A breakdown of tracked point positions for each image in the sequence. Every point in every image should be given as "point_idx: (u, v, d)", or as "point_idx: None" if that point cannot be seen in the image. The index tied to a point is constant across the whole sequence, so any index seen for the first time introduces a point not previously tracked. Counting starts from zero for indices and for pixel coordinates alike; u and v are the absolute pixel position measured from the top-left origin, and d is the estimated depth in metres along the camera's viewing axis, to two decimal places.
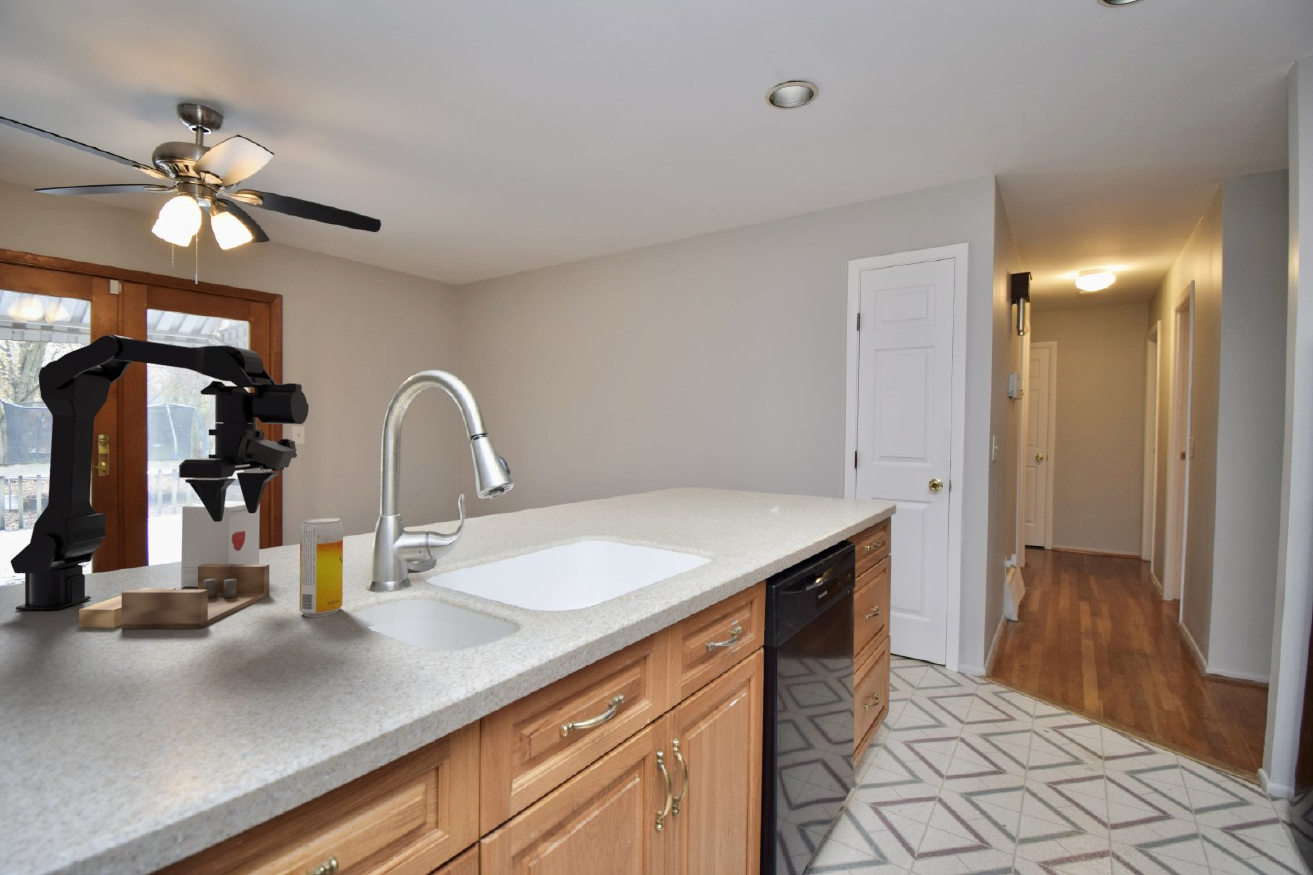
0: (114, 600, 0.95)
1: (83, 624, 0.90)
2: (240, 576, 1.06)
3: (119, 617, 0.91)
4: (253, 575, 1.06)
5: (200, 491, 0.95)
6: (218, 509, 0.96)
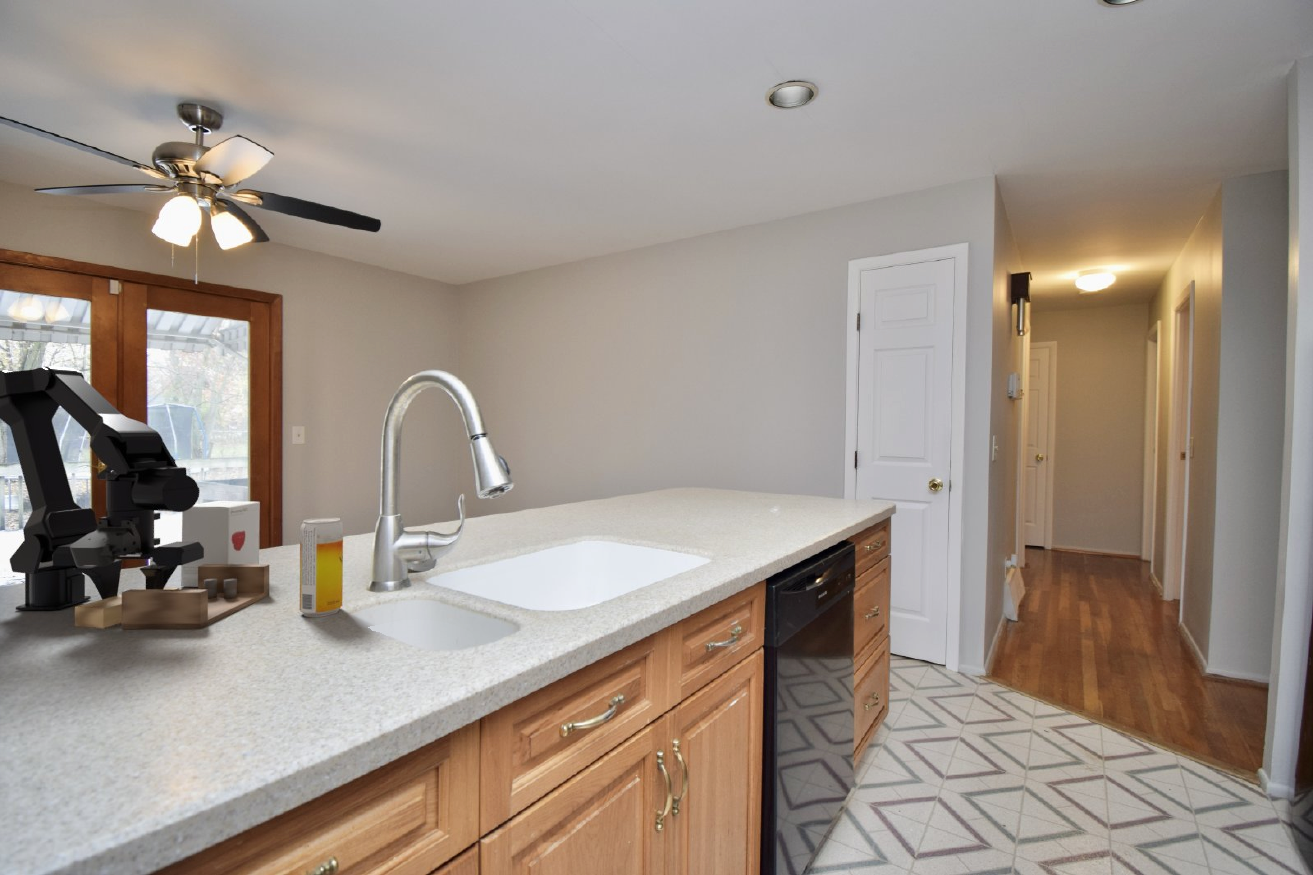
0: (114, 598, 0.95)
1: (78, 622, 0.90)
2: (240, 576, 1.06)
3: (110, 617, 0.91)
4: (253, 575, 1.06)
5: None
6: None
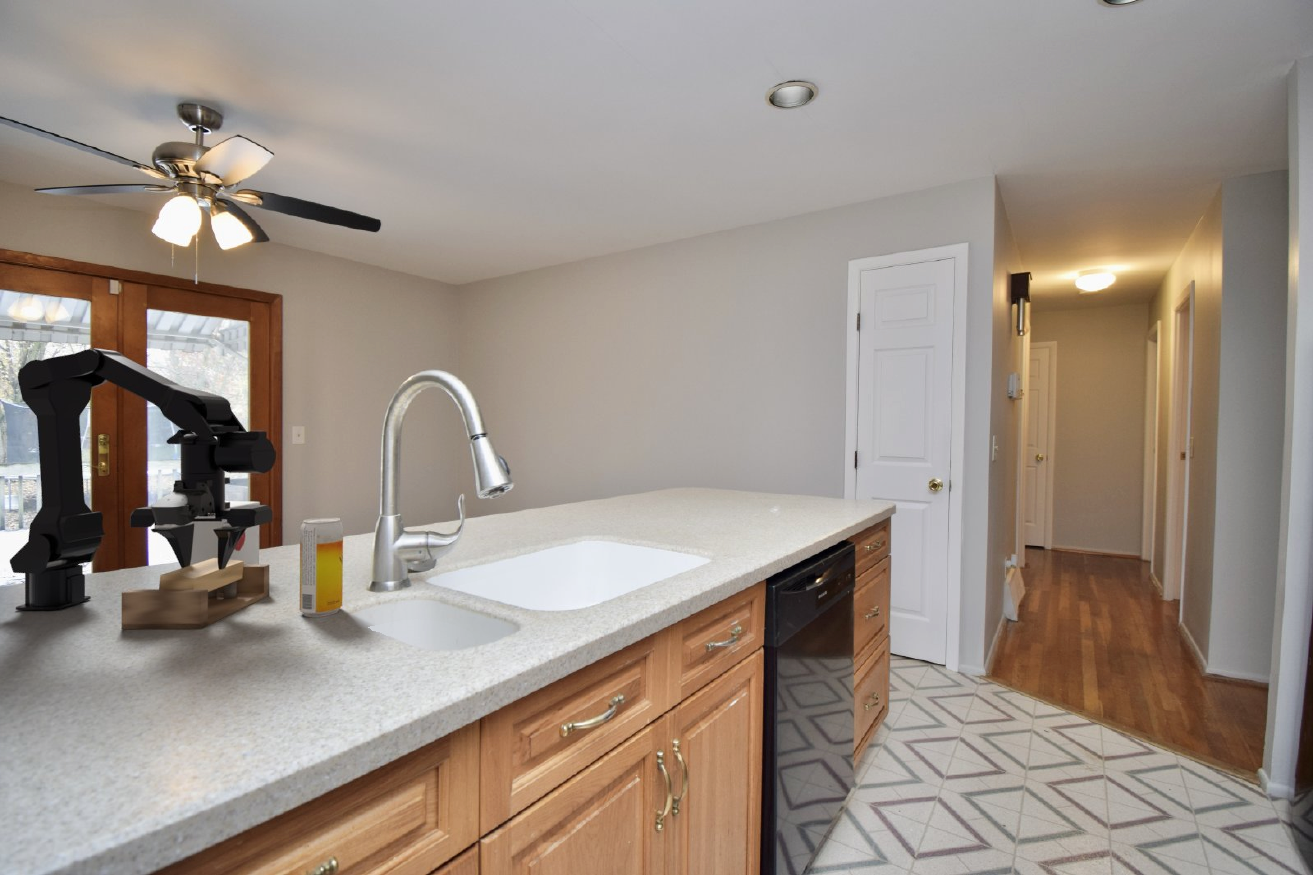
0: (190, 568, 0.97)
1: None
2: None
3: (198, 586, 0.94)
4: (253, 575, 1.06)
5: None
6: None
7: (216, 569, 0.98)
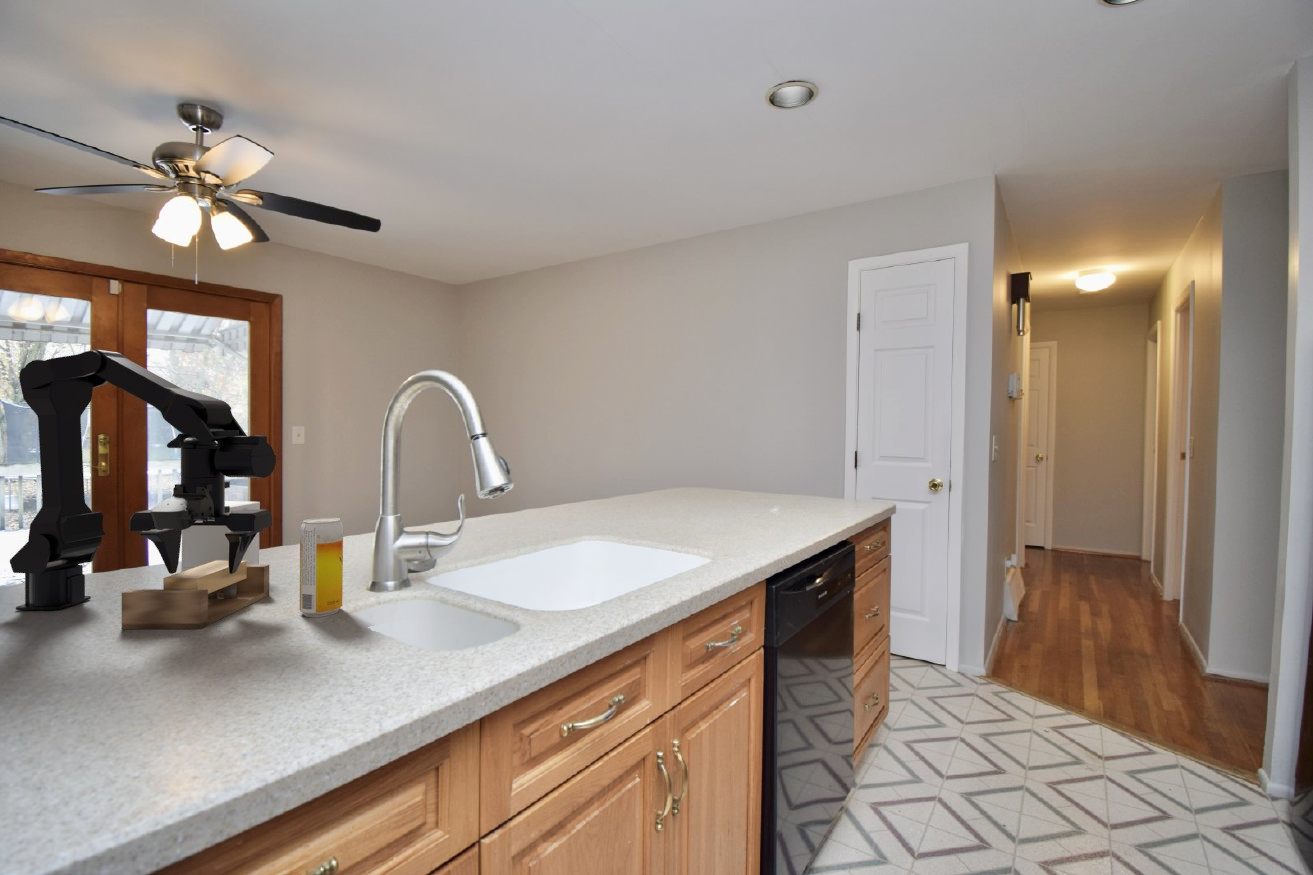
0: (193, 570, 0.97)
1: None
2: None
3: (202, 586, 0.94)
4: (253, 575, 1.06)
5: None
6: None
7: (219, 569, 0.98)
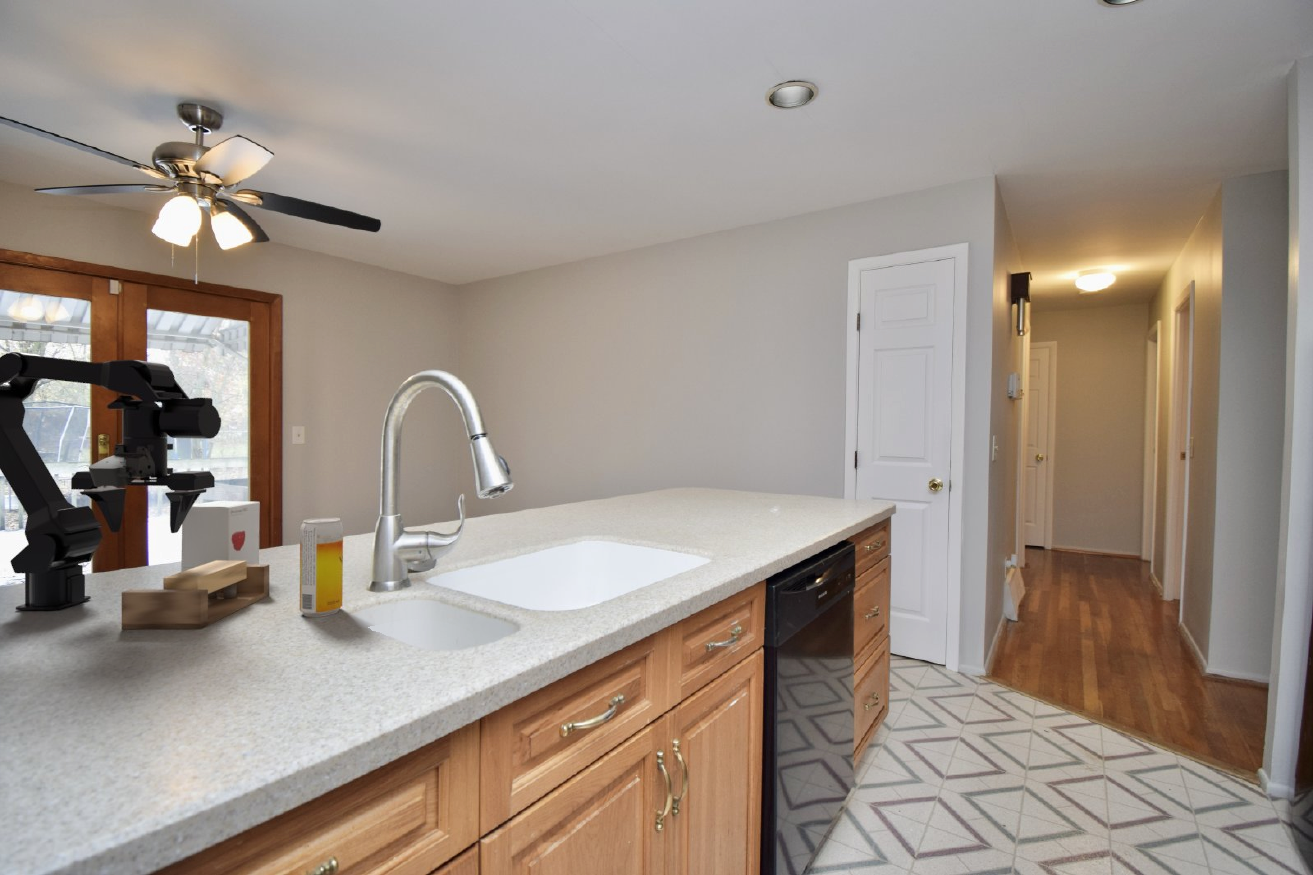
0: (193, 570, 0.97)
1: None
2: None
3: (202, 586, 0.94)
4: (253, 575, 1.06)
5: None
6: None
7: (219, 569, 0.98)
